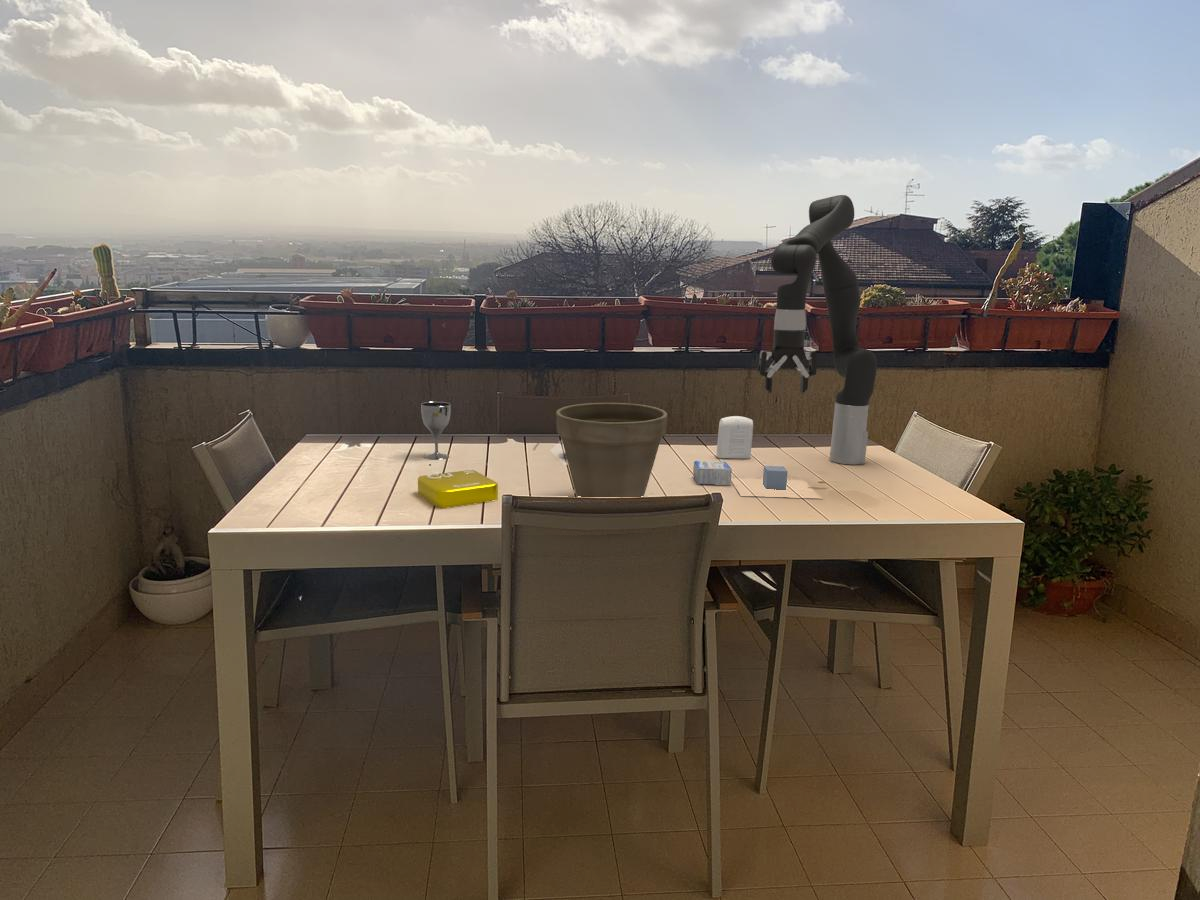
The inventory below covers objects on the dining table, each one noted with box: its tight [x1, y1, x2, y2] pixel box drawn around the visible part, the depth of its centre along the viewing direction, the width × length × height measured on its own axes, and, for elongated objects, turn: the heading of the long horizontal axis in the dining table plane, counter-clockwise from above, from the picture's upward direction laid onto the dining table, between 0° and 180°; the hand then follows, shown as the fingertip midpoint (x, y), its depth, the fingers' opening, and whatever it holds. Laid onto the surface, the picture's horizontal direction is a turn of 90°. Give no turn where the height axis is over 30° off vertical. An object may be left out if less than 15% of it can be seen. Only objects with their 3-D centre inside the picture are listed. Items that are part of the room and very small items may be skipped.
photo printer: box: [716, 415, 754, 460], centre depth 226 cm, size 10×4×12 cm, turn 98°
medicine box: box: [692, 460, 733, 486], centre depth 200 cm, size 8×4×9 cm
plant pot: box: [555, 402, 668, 497], centre depth 176 cm, size 25×25×22 cm
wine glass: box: [420, 401, 452, 461], centre depth 215 cm, size 8×8×15 cm
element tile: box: [417, 469, 499, 509], centre depth 180 cm, size 15×15×5 cm
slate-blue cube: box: [762, 465, 789, 490], centre depth 195 cm, size 5×5×5 cm
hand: (785, 392), depth 196 cm, fingers open, 8 cm apart
